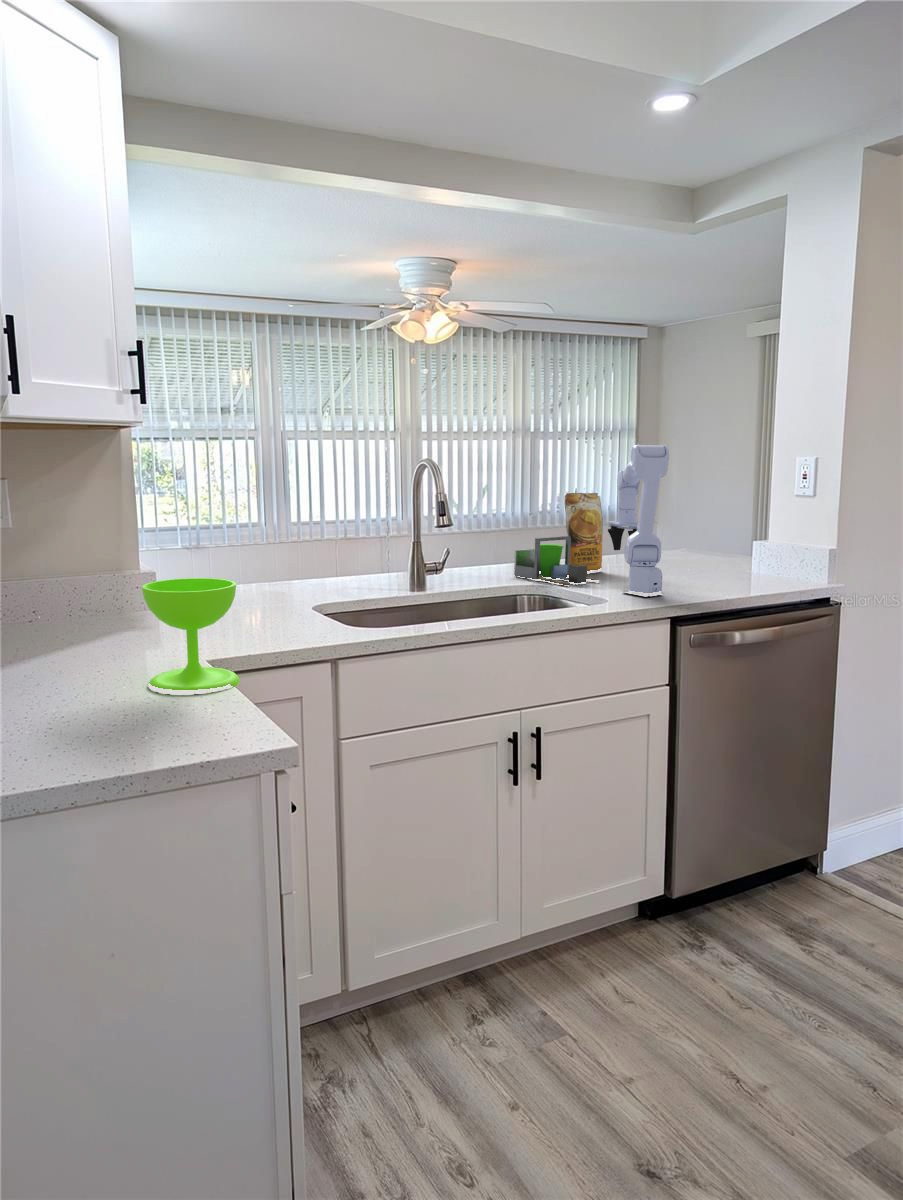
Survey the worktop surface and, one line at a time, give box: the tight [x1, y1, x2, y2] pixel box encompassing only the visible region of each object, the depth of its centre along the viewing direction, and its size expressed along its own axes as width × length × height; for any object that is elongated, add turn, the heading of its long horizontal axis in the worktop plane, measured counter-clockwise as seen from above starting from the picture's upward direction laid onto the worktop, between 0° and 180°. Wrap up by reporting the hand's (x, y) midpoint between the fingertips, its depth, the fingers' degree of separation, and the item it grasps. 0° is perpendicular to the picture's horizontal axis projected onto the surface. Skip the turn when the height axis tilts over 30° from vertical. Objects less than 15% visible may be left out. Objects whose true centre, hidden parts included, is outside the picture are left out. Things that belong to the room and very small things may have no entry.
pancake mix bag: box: [563, 492, 604, 571], centre depth 292 cm, size 7×19×28 cm, turn 124°
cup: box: [540, 543, 564, 577], centre depth 280 cm, size 9×9×11 cm
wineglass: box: [141, 577, 240, 690], centre depth 150 cm, size 16×16×18 cm
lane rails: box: [537, 574, 599, 586], centre depth 273 cm, size 15×14×1 cm
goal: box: [513, 535, 571, 579], centre depth 282 cm, size 11×15×14 cm
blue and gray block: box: [551, 563, 588, 583], centre depth 272 cm, size 11×6×6 cm, turn 35°
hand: (625, 551), depth 270 cm, fingers open, 7 cm apart
